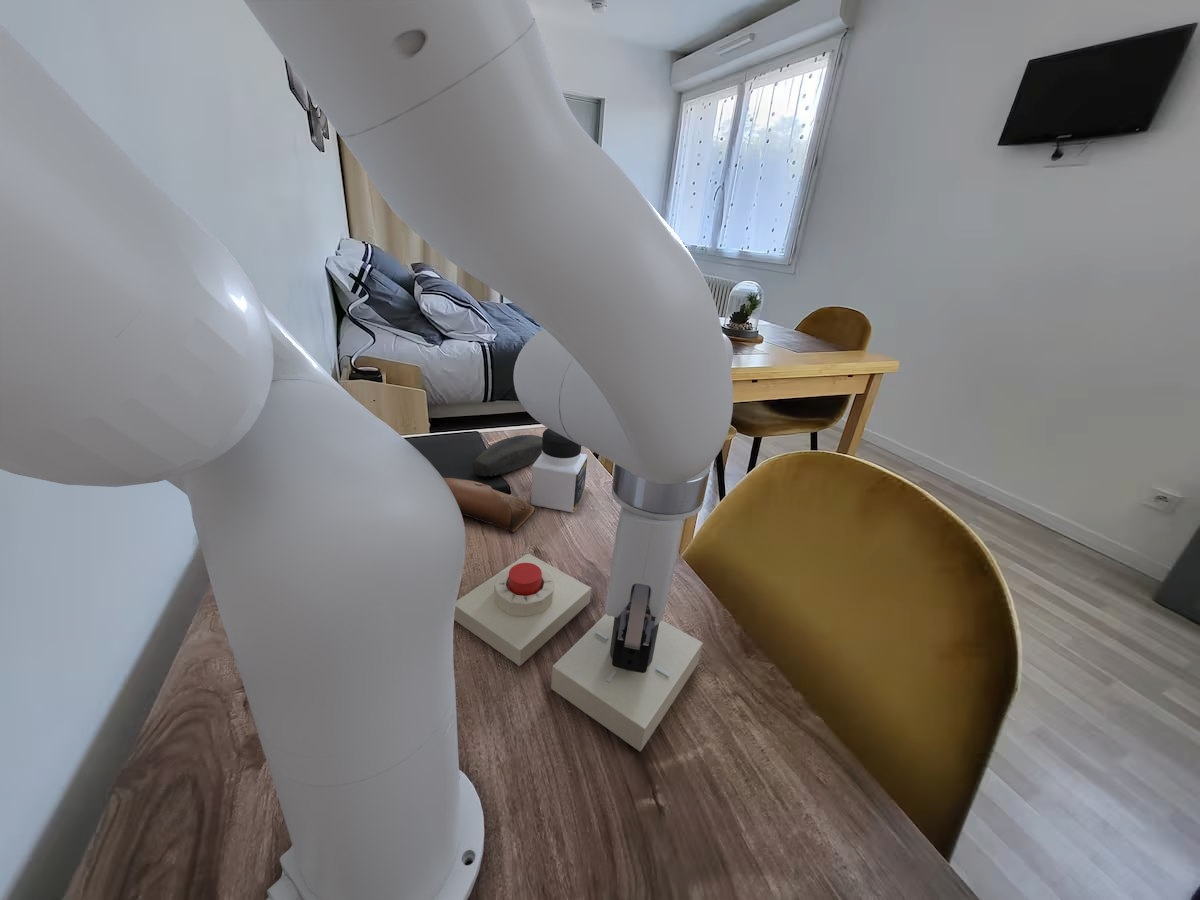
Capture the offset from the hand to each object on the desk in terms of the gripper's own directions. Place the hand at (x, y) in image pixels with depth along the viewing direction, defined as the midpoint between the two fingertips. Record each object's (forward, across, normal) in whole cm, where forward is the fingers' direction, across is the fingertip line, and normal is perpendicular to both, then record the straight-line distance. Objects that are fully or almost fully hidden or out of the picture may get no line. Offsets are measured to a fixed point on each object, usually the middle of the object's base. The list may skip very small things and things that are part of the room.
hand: (632, 645), depth 47 cm
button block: (+4, -6, -13) cm, 15 cm away
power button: (+1, -6, -13) cm, 14 cm away
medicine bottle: (+4, -31, -16) cm, 35 cm away
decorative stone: (+4, -40, -27) cm, 49 cm away
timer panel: (+4, 0, 0) cm, 4 cm away
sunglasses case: (+4, -24, -27) cm, 37 cm away
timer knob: (+1, 0, 0) cm, 1 cm away
